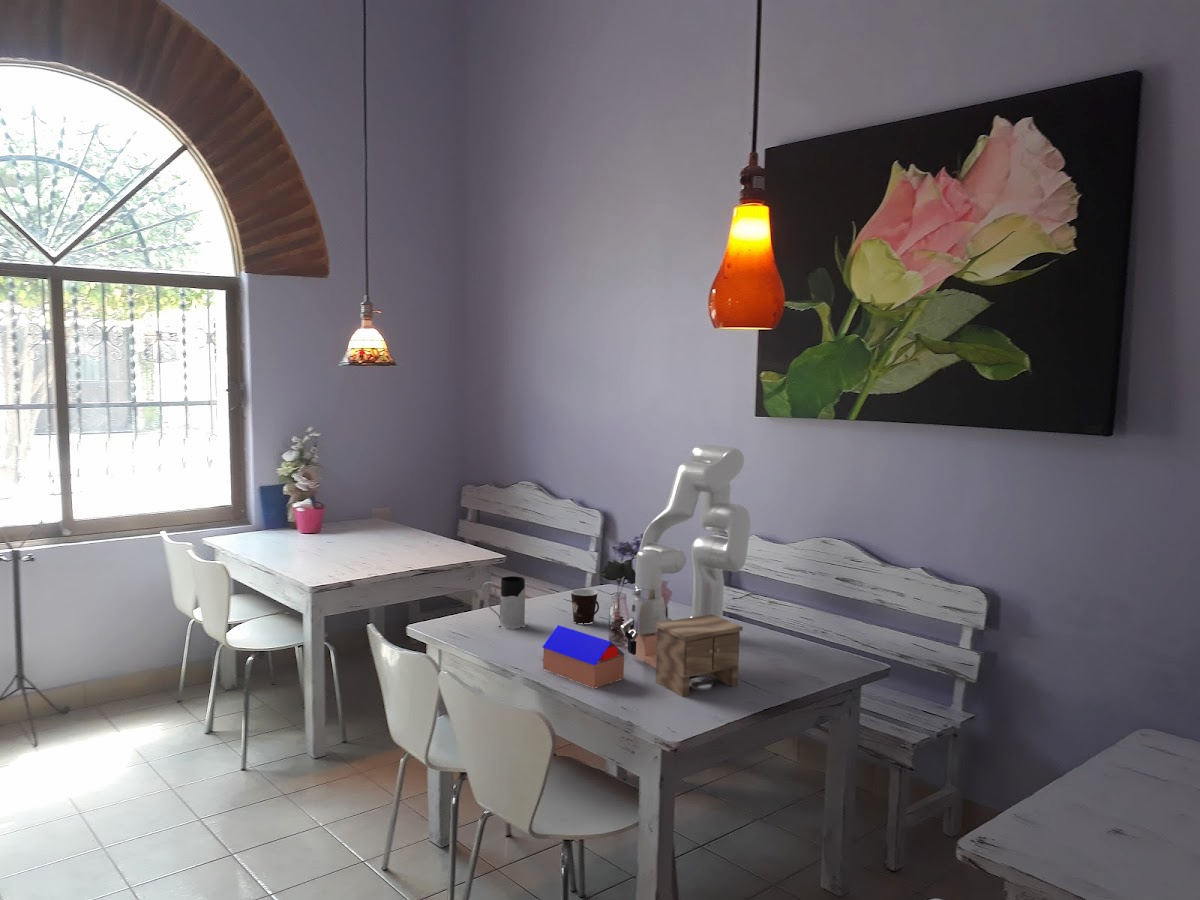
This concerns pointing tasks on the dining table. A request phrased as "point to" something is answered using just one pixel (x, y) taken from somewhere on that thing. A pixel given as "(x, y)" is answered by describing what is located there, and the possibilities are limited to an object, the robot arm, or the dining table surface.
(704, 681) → the steel disc
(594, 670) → the house
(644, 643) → the tan stepped beam
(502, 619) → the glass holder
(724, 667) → the cabinet
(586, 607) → the coffee mug
